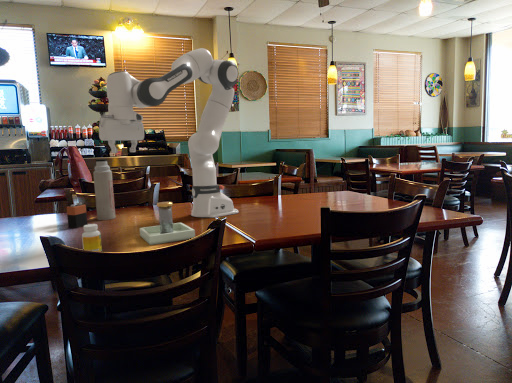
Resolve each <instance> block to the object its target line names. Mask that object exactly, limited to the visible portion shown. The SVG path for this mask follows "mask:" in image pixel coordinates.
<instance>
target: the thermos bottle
mask: <svg viewBox="0 0 512 383" xmlns="http://www.w3.org/2000/svg"><path fill="white" fill-rule="evenodd" d="M95 162H96V164H95V166H94V171H93V173H92V174H93V185H94V196H95V207H96V208H95V209H96V218H97V220H99V221H101V220H102V221H107V220H108V221H109V220H113V219H115V218H116V208H115V206H116V205H115V195H114V187H113V186H114V184H113V181H114V180H113V171H112V170H110V169H111V167H110V165H108V164H109V163H108V159H105V158H101V159H100V158H99V159H95Z"/></svg>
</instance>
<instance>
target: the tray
mask: <svg viewBox="0 0 512 383" xmlns="http://www.w3.org/2000/svg"><path fill="white" fill-rule="evenodd" d="M139 236H140V237H141V238H142V239H143V240H144V242H146V243H147V244H148V245H149V246H153V245H159V244H160V245H161V244H166V243H172V242H178V241H185V240H191V239H190V238H193V237H195V238H196V230H195V229H194V228H192V227H190V226H189V225H187V224H185V223H183V222H176V223H175V222H173V232H172V233H165V234H160V224H159V225H152V226H146V227H145V226H143V227H139ZM193 239H194V238H193Z"/></svg>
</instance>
